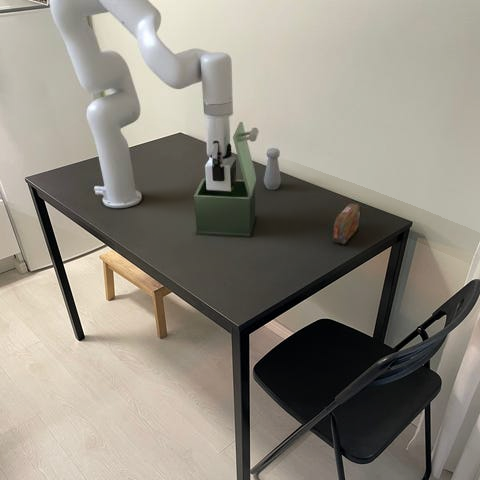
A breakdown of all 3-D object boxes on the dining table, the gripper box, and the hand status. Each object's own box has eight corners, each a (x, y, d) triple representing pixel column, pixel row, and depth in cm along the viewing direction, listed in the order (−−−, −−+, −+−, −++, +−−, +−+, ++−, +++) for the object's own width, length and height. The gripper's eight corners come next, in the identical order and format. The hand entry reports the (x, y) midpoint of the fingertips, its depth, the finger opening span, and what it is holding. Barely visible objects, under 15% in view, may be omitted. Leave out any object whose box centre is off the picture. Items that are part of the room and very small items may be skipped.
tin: (340, 249, 133) (343, 221, 127) (329, 246, 134) (332, 218, 129) (360, 226, 143) (364, 199, 137) (350, 223, 144) (353, 197, 139)
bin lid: (232, 137, 122) (252, 133, 120) (239, 122, 131) (258, 117, 130) (248, 197, 131) (267, 193, 130) (253, 179, 141) (271, 175, 139)
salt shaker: (261, 189, 164) (261, 151, 156) (266, 182, 168) (267, 145, 160) (277, 191, 162) (278, 153, 154) (282, 185, 166) (284, 147, 158)
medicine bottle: (231, 192, 134) (230, 148, 126) (206, 190, 135) (203, 147, 127) (236, 181, 139) (235, 139, 131) (212, 180, 140) (210, 138, 133)
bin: (196, 234, 141) (193, 196, 133) (205, 214, 150) (202, 178, 143) (250, 237, 139) (249, 198, 132) (255, 217, 148) (255, 180, 141)
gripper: (210, 98, 131) (213, 162, 142) (196, 118, 117) (201, 187, 129) (237, 98, 130) (239, 163, 141) (227, 118, 117) (229, 188, 128)
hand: (221, 174), depth 135 cm, fingers closed on medicine bottle, 7 cm apart
